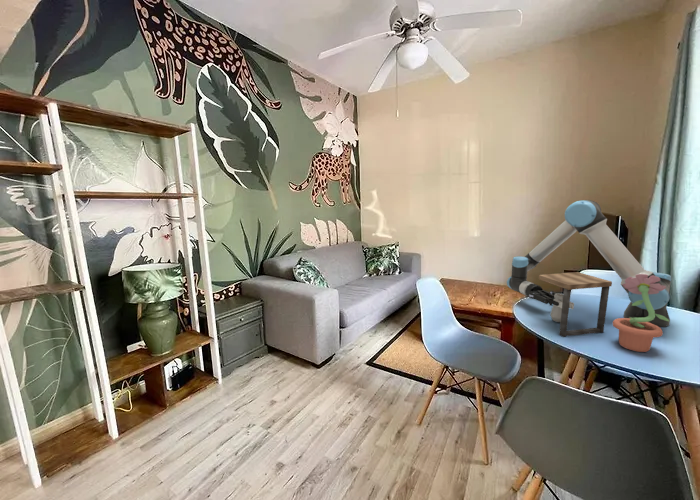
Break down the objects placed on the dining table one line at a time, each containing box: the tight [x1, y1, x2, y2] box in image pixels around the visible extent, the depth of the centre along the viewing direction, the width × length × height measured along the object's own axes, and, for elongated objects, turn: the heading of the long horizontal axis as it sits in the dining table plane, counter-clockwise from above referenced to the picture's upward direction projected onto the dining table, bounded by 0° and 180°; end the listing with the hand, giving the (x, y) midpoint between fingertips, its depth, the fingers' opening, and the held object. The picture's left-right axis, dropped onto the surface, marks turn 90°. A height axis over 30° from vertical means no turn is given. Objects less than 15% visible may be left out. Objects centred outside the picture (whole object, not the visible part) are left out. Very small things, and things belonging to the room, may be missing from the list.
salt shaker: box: [550, 292, 563, 323], centre depth 137 cm, size 6×6×13 cm
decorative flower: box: [612, 274, 671, 353], centre depth 111 cm, size 15×14×30 cm
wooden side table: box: [538, 271, 613, 338], centre depth 131 cm, size 20×16×23 cm
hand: (569, 306), depth 131 cm, fingers closed on salt shaker, 3 cm apart
